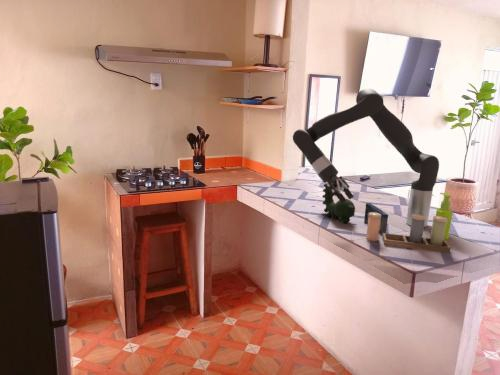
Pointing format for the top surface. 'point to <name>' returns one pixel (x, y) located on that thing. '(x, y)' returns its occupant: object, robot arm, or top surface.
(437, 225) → the olive jar
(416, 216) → the slate blue jar
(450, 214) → the soap dispenser
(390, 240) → the walnut spice rack
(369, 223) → the terracotta jar
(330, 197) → the toy figurine
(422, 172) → the robot arm
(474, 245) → the top surface
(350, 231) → the top surface
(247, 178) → the top surface
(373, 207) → the vhs cassette tape
